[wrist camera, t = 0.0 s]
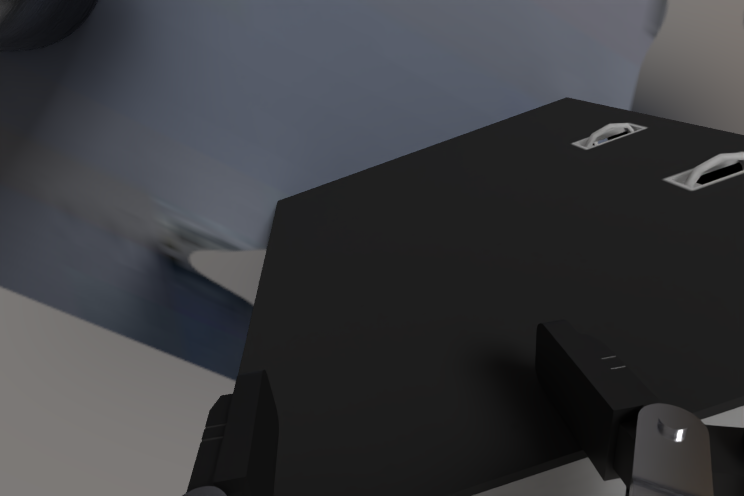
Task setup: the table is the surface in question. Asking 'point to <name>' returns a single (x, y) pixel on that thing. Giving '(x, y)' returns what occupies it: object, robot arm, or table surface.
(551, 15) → the table surface
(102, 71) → the table surface
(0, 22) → the pot
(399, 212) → the binder
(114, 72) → the table surface
